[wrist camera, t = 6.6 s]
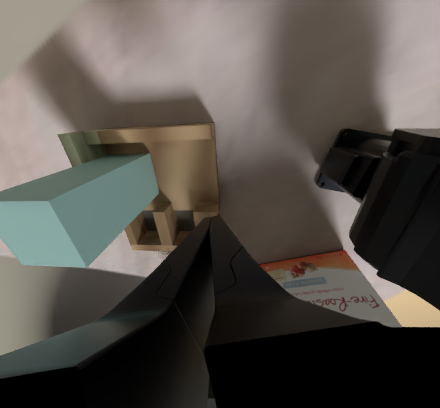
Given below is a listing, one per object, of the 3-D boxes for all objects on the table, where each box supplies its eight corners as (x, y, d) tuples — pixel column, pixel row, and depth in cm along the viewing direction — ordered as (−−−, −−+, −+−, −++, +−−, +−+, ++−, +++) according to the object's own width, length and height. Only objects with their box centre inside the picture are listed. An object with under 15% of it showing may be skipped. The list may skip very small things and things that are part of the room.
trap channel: (214, 122, 19) (206, 126, 14) (221, 235, 26) (218, 261, 22) (96, 129, 20) (57, 134, 16) (134, 234, 28) (114, 257, 23)
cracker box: (344, 245, 25) (641, 632, 6) (346, 274, 27) (564, 611, 9) (248, 263, 28) (264, 547, 10) (257, 287, 31) (284, 549, 12)
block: (149, 153, 20) (48, 201, 9) (159, 193, 22) (87, 267, 12) (109, 154, 20) (-30, 201, 10) (122, 193, 23) (22, 264, 12)
